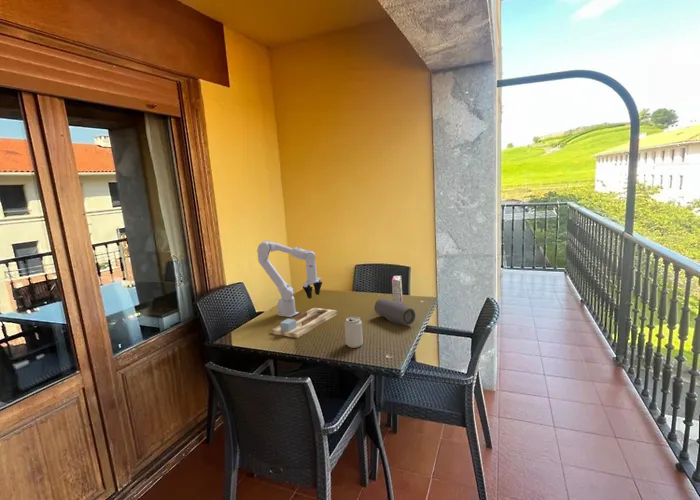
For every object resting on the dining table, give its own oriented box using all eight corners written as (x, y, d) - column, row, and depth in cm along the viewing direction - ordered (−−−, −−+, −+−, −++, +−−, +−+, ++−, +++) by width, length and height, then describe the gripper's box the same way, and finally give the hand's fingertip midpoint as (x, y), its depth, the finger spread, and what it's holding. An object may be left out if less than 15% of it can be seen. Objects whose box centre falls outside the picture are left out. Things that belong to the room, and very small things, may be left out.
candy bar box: (394, 302, 214) (393, 275, 211) (402, 302, 213) (401, 275, 210) (392, 308, 203) (391, 280, 201) (401, 308, 202) (400, 280, 200)
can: (345, 342, 161) (343, 316, 159) (362, 340, 162) (360, 315, 160) (346, 349, 154) (344, 322, 152) (364, 347, 154) (362, 320, 153)
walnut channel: (290, 323, 184) (290, 319, 184) (305, 315, 195) (305, 311, 195) (303, 325, 180) (303, 321, 180) (318, 317, 191) (318, 313, 191)
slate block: (280, 330, 175) (280, 322, 175) (288, 326, 180) (288, 318, 180) (288, 331, 173) (288, 323, 172) (296, 327, 178) (296, 319, 177)
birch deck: (271, 333, 178) (271, 329, 177) (314, 310, 208) (313, 307, 208) (297, 338, 170) (297, 333, 169) (337, 313, 200) (337, 310, 200)
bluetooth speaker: (416, 325, 176) (416, 305, 175) (402, 329, 172) (401, 309, 170) (388, 313, 196) (387, 295, 194) (374, 317, 191) (373, 299, 189)
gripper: (309, 276, 194) (311, 300, 196) (324, 270, 206) (326, 293, 208) (299, 275, 198) (301, 299, 200) (314, 269, 210) (316, 292, 212)
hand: (313, 296), depth 204 cm, fingers open, 7 cm apart
